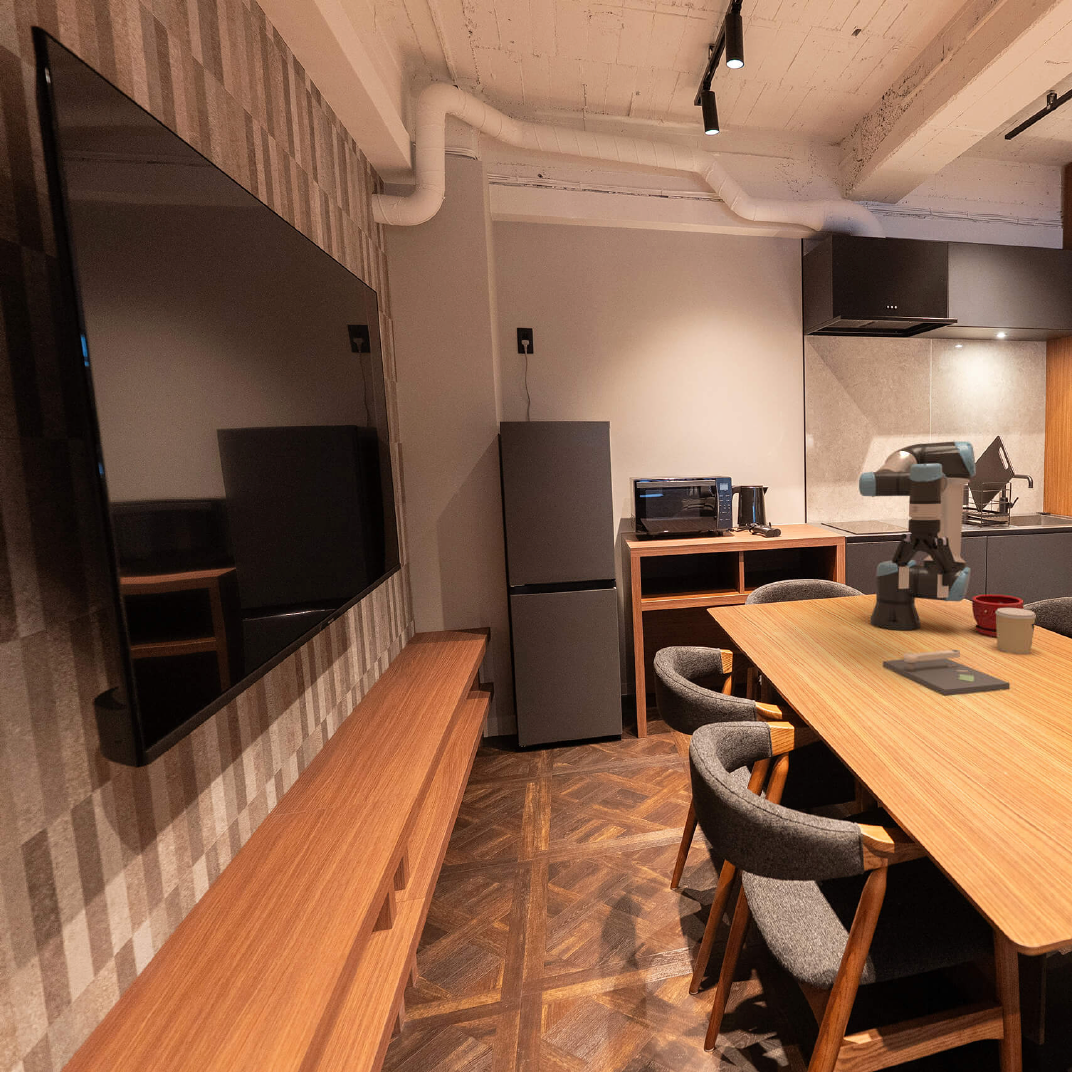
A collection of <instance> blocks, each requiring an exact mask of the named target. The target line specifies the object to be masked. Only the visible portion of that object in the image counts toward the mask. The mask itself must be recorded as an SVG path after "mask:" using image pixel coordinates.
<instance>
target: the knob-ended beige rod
mask: <svg viewBox="0 0 1072 1072" xmlns="http://www.w3.org/2000/svg"><path fill="white" fill-rule="evenodd" d="M946 658H947V659H955V658H956V659H957V658H961V651H960V650H958V649H950V650H949V649H948V650H937V651H927V652H916V653H914V652H904V653H903V659H904V661H905V662H909V663H917V661H925V660H936V659H946Z"/></svg>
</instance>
